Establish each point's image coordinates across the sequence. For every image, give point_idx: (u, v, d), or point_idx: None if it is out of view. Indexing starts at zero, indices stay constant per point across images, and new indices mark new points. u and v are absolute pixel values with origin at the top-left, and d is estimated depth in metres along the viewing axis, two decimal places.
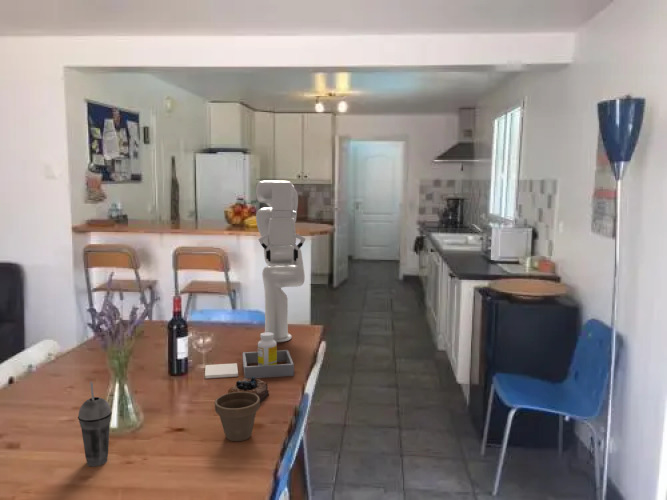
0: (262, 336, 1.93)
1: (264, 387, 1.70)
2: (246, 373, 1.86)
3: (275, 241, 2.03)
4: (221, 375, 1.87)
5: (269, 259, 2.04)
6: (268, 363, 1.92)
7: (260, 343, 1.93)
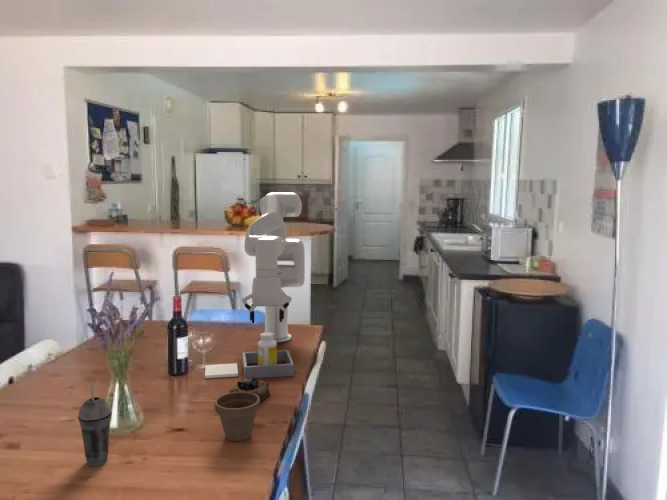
0: (262, 336, 1.93)
1: (265, 387, 1.70)
2: (246, 373, 1.86)
3: (259, 302, 1.90)
4: (221, 375, 1.87)
5: (253, 321, 1.91)
6: (268, 363, 1.92)
7: (260, 343, 1.93)
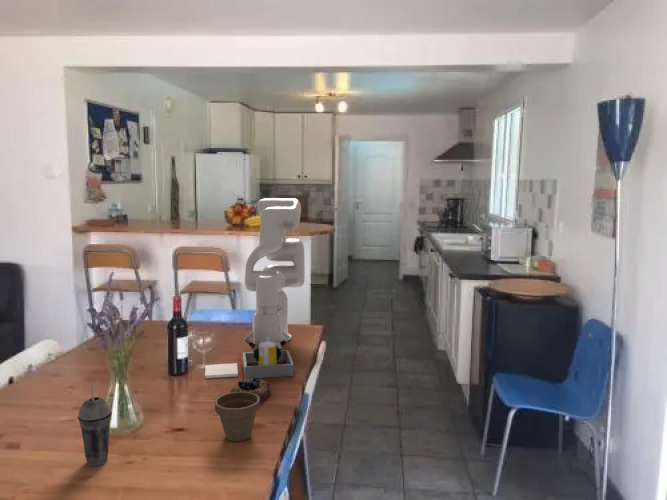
0: None
1: (266, 387, 1.70)
2: (246, 373, 1.86)
3: (260, 338, 1.92)
4: (221, 375, 1.87)
5: (257, 359, 1.93)
6: (268, 363, 1.92)
7: (260, 343, 1.93)
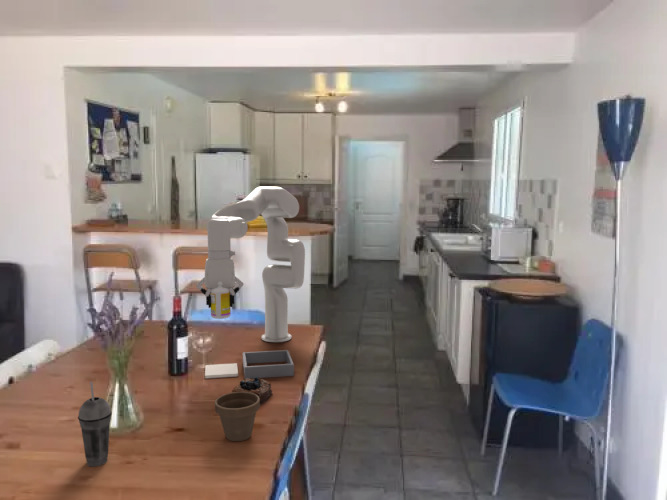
0: None
1: (268, 387, 1.70)
2: (246, 373, 1.86)
3: (211, 284, 1.86)
4: (221, 375, 1.87)
5: (209, 305, 1.88)
6: (220, 309, 1.87)
7: (212, 289, 1.87)
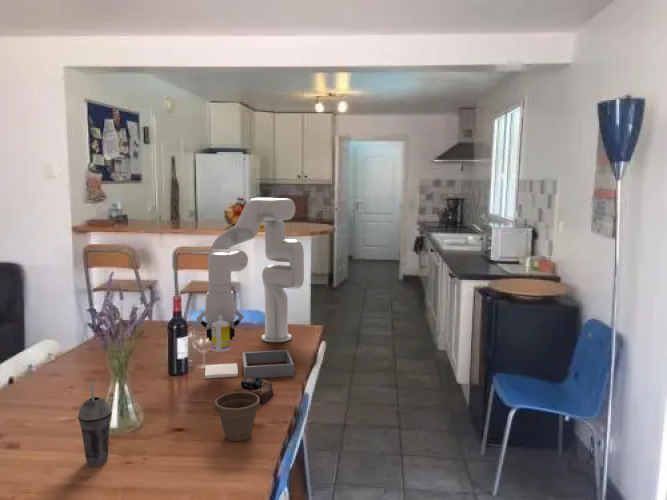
0: None
1: (269, 387, 1.70)
2: (246, 373, 1.86)
3: (212, 317, 1.88)
4: (221, 375, 1.87)
5: (209, 338, 1.89)
6: (221, 342, 1.88)
7: (213, 322, 1.89)
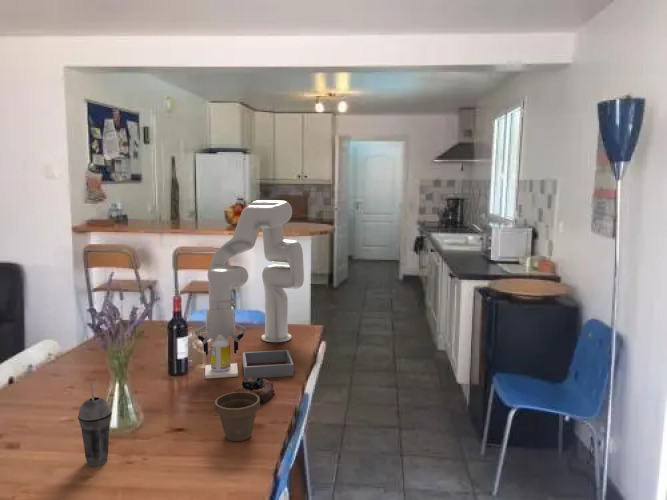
0: None
1: (270, 387, 1.71)
2: (246, 373, 1.86)
3: (212, 334, 1.88)
4: (221, 375, 1.87)
5: (206, 352, 1.89)
6: (220, 362, 1.89)
7: (212, 342, 1.90)
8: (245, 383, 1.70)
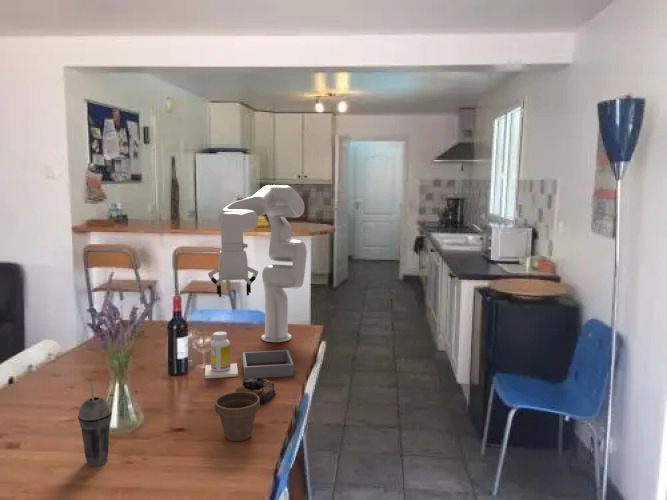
0: (214, 335, 1.89)
1: (271, 387, 1.71)
2: (246, 373, 1.86)
3: (225, 276, 1.92)
4: (221, 375, 1.87)
5: (219, 294, 1.93)
6: (220, 362, 1.89)
7: (212, 342, 1.90)
8: (246, 383, 1.70)
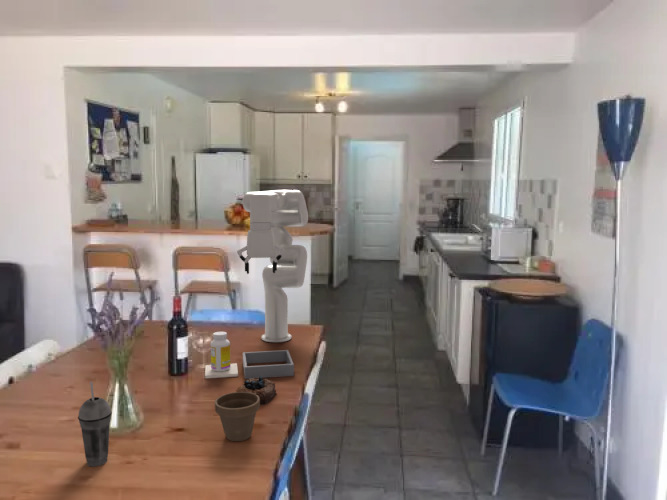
0: (214, 335, 1.89)
1: (272, 387, 1.71)
2: (246, 373, 1.86)
3: (253, 253, 2.02)
4: (221, 375, 1.87)
5: (247, 271, 2.03)
6: (220, 362, 1.89)
7: (212, 342, 1.90)
8: (247, 383, 1.70)
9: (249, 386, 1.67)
